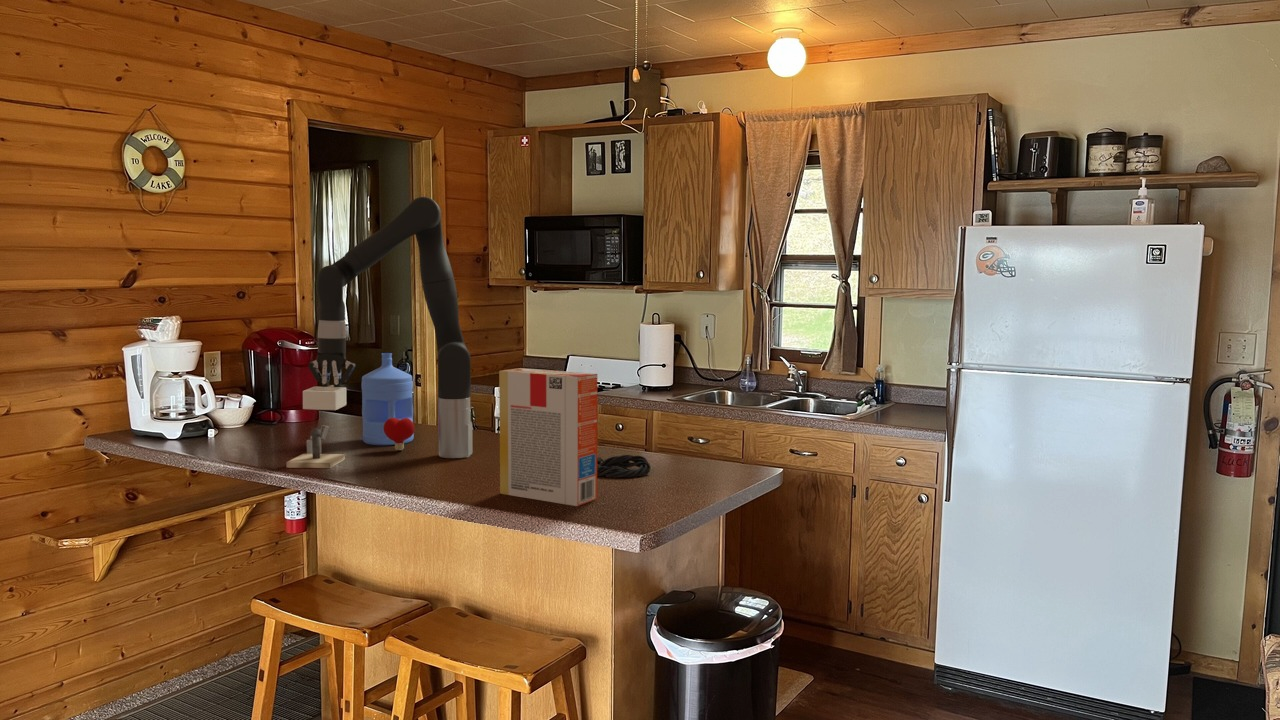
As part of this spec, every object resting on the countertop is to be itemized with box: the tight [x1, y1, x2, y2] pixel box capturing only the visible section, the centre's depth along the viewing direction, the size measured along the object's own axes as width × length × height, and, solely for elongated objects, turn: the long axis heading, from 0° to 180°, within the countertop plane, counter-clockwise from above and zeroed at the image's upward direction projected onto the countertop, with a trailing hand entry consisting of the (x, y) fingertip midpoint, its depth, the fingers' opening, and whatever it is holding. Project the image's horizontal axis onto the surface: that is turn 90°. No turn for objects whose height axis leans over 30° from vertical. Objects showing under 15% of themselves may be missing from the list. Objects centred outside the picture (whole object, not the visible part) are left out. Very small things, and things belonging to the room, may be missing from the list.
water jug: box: [361, 352, 415, 446], centre depth 292 cm, size 16×16×28 cm
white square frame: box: [302, 384, 347, 411], centre depth 259 cm, size 9×12×5 cm
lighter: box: [306, 424, 330, 454], centre depth 273 cm, size 7×2×8 cm, turn 150°
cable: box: [597, 454, 651, 479], centre depth 249 cm, size 17×14×4 cm
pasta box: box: [498, 367, 598, 507], centre depth 221 cm, size 23×8×30 cm, turn 59°
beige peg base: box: [286, 428, 346, 469], centre depth 258 cm, size 12×12×10 cm
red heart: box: [384, 418, 416, 452], centre depth 277 cm, size 9×7×10 cm
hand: (331, 396), depth 263 cm, fingers closed on white square frame
